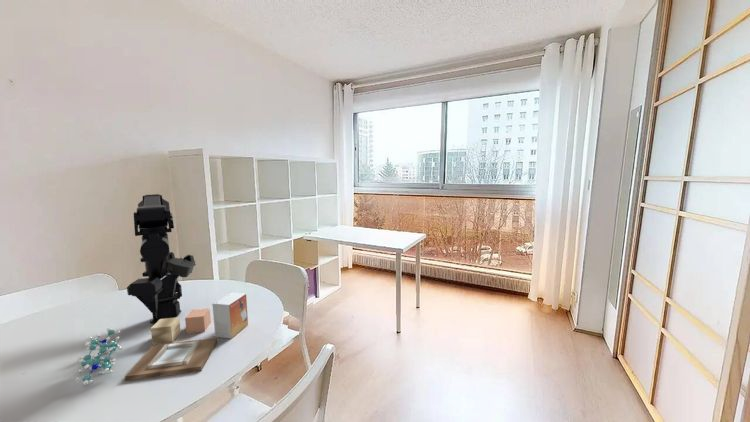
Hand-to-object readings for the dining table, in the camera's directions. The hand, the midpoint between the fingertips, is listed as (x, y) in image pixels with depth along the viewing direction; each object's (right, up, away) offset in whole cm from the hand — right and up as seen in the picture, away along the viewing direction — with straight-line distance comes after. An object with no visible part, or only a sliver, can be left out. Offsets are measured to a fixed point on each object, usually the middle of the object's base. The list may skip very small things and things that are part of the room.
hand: (163, 304), depth 81 cm
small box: (+17, -10, +5) cm, 21 cm away
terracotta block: (+6, -10, +7) cm, 13 cm away
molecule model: (-7, -12, -10) cm, 18 cm away
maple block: (0, -10, +1) cm, 11 cm away
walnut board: (+9, -12, -8) cm, 17 cm away
